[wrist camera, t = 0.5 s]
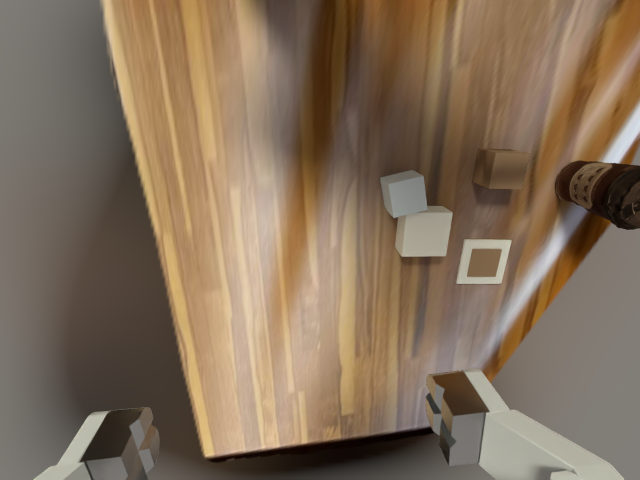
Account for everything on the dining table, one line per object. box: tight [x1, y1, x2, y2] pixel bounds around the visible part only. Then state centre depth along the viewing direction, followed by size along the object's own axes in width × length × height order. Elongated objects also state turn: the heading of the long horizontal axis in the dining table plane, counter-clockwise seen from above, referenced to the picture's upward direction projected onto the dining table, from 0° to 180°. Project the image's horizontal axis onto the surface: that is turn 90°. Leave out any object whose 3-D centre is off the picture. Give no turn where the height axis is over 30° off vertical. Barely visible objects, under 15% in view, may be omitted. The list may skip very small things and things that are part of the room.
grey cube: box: [380, 170, 428, 218], centre depth 53 cm, size 5×5×5 cm
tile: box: [456, 239, 512, 284], centre depth 61 cm, size 8×8×1 cm
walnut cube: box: [472, 149, 530, 189], centre depth 53 cm, size 5×5×5 cm
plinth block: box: [395, 206, 453, 257], centre depth 56 cm, size 7×7×4 cm
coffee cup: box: [556, 161, 640, 230], centre depth 51 cm, size 9×8×13 cm
